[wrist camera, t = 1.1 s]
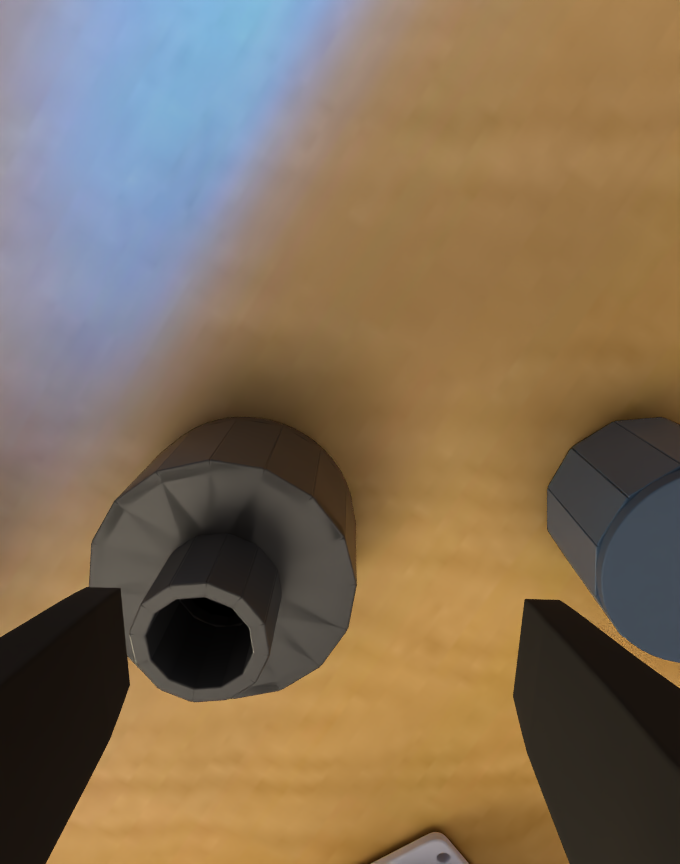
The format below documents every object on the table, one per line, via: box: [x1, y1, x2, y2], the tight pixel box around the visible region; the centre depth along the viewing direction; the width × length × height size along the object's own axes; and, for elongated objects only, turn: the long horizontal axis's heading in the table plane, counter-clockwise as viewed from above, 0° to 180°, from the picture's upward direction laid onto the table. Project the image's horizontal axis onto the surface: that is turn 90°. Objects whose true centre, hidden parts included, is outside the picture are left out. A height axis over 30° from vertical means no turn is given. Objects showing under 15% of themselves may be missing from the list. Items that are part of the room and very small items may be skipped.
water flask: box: [89, 417, 357, 702], centre depth 17 cm, size 7×7×7 cm
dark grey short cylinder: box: [547, 417, 680, 663], centre depth 18 cm, size 6×6×5 cm
